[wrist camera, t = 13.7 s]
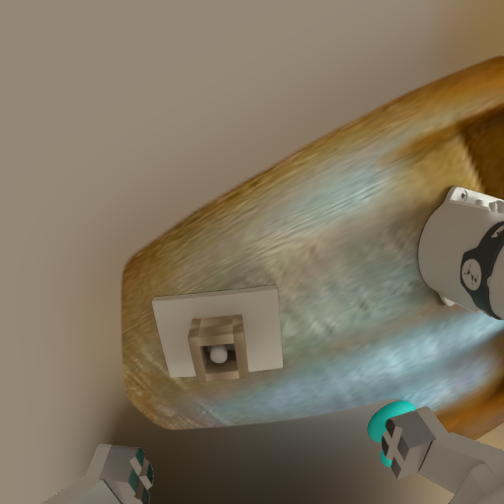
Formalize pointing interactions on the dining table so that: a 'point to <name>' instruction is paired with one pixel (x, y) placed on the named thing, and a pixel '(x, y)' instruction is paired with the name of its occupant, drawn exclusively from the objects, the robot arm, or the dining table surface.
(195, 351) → the collar
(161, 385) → the dining table surface
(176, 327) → the post board
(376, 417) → the donuts
